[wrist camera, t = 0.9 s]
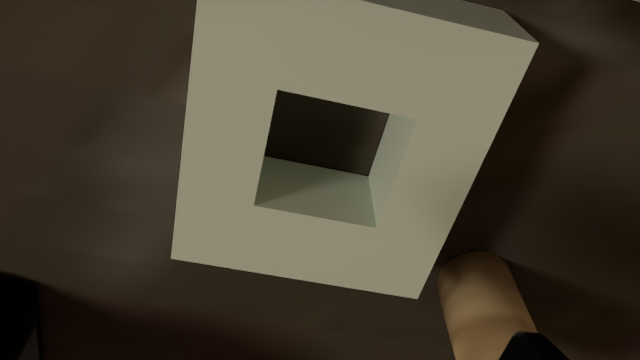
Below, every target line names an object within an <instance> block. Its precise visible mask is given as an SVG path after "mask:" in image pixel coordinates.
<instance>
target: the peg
mask: <svg viewBox="0 0 640 360" xmlns="http://www.w3.org/2000/svg"><path fill="white" fill-rule="evenodd" d="M436 288H437V292H438V295H439V299H440V303H441V306H442V310H443V314H444V318H445V321H446V325H447V329H448V332H449V336H450V340H451V343H452V347H453V351H454V355H455V358H456V360H499V358H500V356H501V354H502V353H503V351H504V349H505V347H506V346H507V344H508V342H509V341H510V339H511V337H512V336H513V334H514V333H516V332H518V331H525V332H533V333H538V332H537V330H536V328H535V325H534V323H533V321H532V319H531V316H530V314H529V312H528V310H527V308H526V305H525V303H524V301H523V299H522V297H521V294H520V292H519V290H518V288H517V285H516V283H515V281H514V279H513V277H512V274H511V272H510V270H509V268H508V265H507V264H506V262H505V261H504V260H503V259H501V258H500V257H498V256H496V255H494V254H491V253H487V252H471V253H466V254H463V255H460V256H457V257H455V258H453V259H452V260H450V261H449V262H447V263H446V264H445V265H444V266H443V267H442V268H441V270H440V271H439V273H438V275H437V278H436Z"/></svg>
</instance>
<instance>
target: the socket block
mask: <svg viewBox="0 0 640 360" xmlns="http://www.w3.org/2000/svg"><path fill="white" fill-rule="evenodd" d="M538 45H539V43H538V42H537V41H536V40H535V39H534V38H533V37H532V36H531V35H530V34H528V33H527V32H526V31H525V30H524V29H523V28H522V27H521V26H520V25H519V24H518V23H517V22H515V21H514V20H513V19H512V18H511V17H510V16H509V15H508V14H507V13H506V12H505V11H503V10H499V9H495V8H491V7H487V6H483V5H479V4H475V3H471V2H467V1H463V0H197V7H196V17H195V27H194V37H193V47H192V57H191V66H190V76H189V86H188V96H187V106H186V116H185V125H184V135H183V145H182V155H181V165H180V175H179V184H178V194H177V204H176V214H175V224H174V233H173V243H172V253H171V259H177V260H183V261H189V262H195V263H201V264H207V265H213V266H219V267H225V268H232V269H238V270H244V271H250V272H256V273H262V274H268V275H274V276H280V277H286V278H292V279H299V280H305V281H311V282H317V283H323V284H329V285H335V286H341V287H347V288H353V289H359V290H366V291H372V292H378V293H384V294H390V295H396V296H402V297H408V298H414V299H418V297H419V294H420V292H421V290H422V288H423V286H424V284H425V282H426V280H427V278H428V276H429V274H430V271H431V269H432V267H433V265H434V263H435V261H436V259H437V257H438V255H439V253H440V250H441V248H442V246H443V244H444V242H445V240H446V238H447V236H448V234H449V232H450V229H451V227H452V225H453V223H454V221H455V219H456V217H457V215H458V213H459V211H460V208H461V206H462V204H463V202H464V200H465V198H466V196H467V194H468V192H469V190H470V187H471V185H472V183H473V181H474V179H475V177H476V175H477V173H478V171H479V169H480V167H481V164H482V162H483V160H484V158H485V156H486V154H487V152H488V150H489V148H490V146H491V143H492V141H493V139H494V137H495V135H496V133H497V131H498V129H499V127H500V125H501V122H502V120H503V118H504V116H505V114H506V112H507V110H508V108H509V106H510V104H511V101H512V99H513V97H514V95H515V93H516V91H517V89H518V87H519V85H520V83H521V80H522V78H523V76H524V74H525V72H526V70H527V68H528V66H529V64H530V62H531V59H532V57H533V55H534V53H535V51H536V49H537V47H538ZM277 90H282V91H286V92H291V93H296V94H300V95H305V96H310V97H315V98H319V99H324V100H329V101H333V102H338V103H343V104H348V105H352V106H357V107H362V108H366V109H371V110H376V111H380V112H385V113H390V115H389V118H388V121H387V124H386V127H385V130H384V133H383V135H382V138H381V141H380V144H379V147H378V150H377V153H376V156H375V159H374V162H373V165H372V168H371V171H370V174H369V177H368V176H363V175H358V174H353V173H348V172H343V171H338V170H333V169H327V168H322V167H317V166H312V165H307V164H302V163H297V162H291V161H286V160H281V159H276V158H271V157H266V156H264V153H265V148H266V143H267V138H268V133H269V128H270V123H271V118H272V113H273V108H274V104H275V99H276V94H277Z"/></svg>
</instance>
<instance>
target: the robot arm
mask: <svg viewBox="0 0 640 360" xmlns="http://www.w3.org/2000/svg"><path fill="white" fill-rule="evenodd" d="M0 360H43V350H42V339H41V328H40V317H39V307H38V296H37V289H36V287H35V286H34V285H32V284H30V283H27V282H23V281H16V280H9V279H3V278H0ZM499 360H569V359H568V358H567V357H566V356H565V355H564V354H563V353H562V352H561V351H560V350H559V349H558V348H557V347H556V346H555V345H554V344H553V343H552V342H551V341H550V340H549V339H548V338H546V337H545V336H544V335H542V334H539V333H533V332H525V331H518V332H516V333H514V334H513V336H512V337H511V339H510V341H509V342H508V344H507V346H506V347H505V349H504V351H503V353H502V354H501V356H500V358H499Z"/></svg>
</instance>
